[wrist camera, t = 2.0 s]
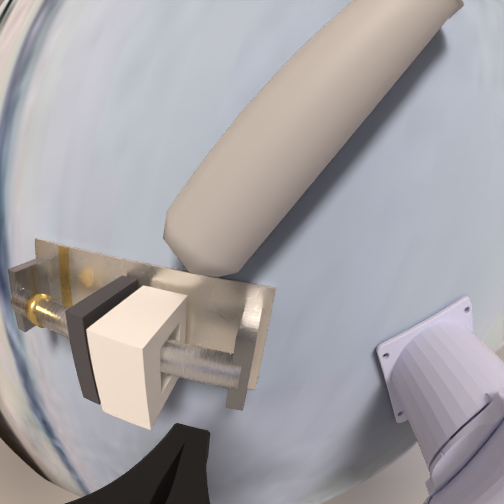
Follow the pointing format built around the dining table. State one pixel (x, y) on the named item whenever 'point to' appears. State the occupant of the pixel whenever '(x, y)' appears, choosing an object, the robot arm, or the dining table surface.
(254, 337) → the rod rig
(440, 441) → the robot arm
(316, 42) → the tube
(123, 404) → the sleeve
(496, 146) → the dining table surface
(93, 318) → the dark gray slab
